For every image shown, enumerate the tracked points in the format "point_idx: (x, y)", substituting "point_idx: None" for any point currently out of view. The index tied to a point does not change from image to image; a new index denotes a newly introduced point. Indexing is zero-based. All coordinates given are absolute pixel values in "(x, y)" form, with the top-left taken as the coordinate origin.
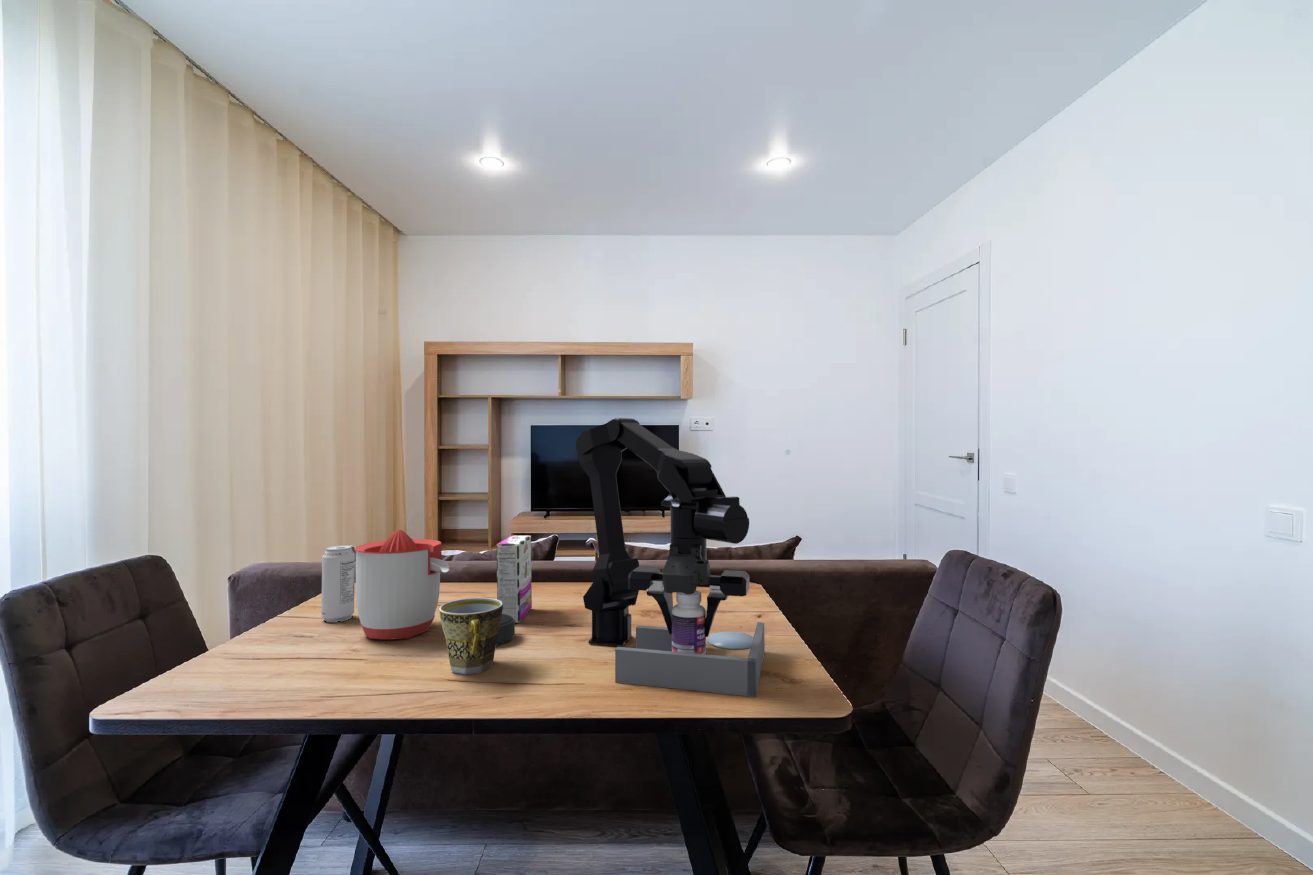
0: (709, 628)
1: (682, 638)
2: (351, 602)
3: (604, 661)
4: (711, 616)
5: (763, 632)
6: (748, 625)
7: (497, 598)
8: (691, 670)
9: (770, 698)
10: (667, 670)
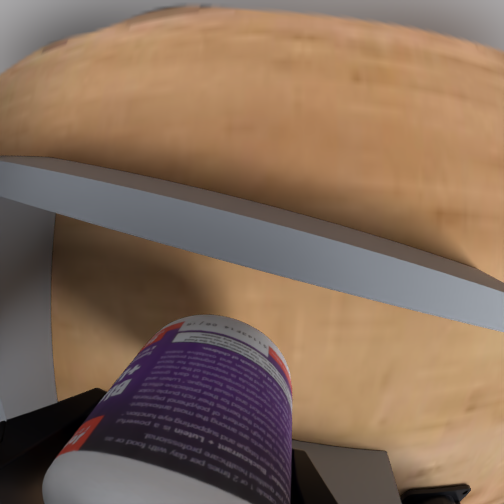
0: (62, 402)
1: (230, 372)
2: None
3: (471, 412)
4: (6, 428)
5: None
6: None
7: None
8: (209, 197)
9: (22, 153)
10: (323, 226)
